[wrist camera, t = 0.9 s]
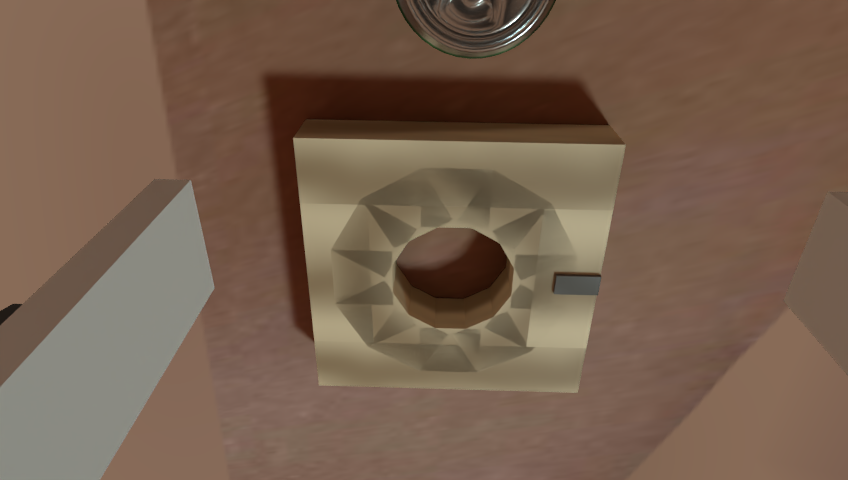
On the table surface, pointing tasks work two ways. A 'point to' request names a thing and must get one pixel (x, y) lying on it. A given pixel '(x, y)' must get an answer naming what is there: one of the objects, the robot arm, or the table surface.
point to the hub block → (455, 208)
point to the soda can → (474, 24)
